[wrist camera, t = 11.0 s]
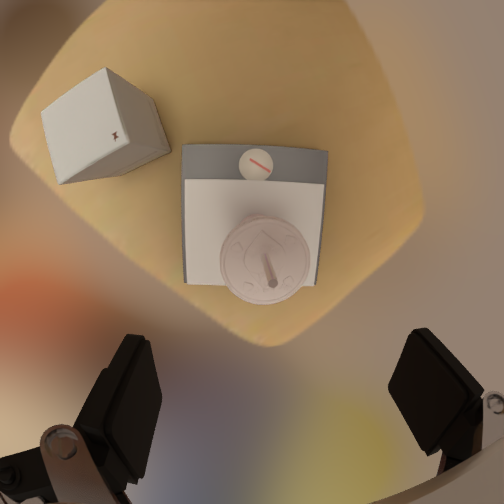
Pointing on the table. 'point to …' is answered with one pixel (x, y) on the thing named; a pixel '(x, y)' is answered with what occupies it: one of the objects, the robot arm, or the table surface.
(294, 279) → the smoothie
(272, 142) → the table surface
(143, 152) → the supplement box
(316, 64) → the table surface
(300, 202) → the scale
